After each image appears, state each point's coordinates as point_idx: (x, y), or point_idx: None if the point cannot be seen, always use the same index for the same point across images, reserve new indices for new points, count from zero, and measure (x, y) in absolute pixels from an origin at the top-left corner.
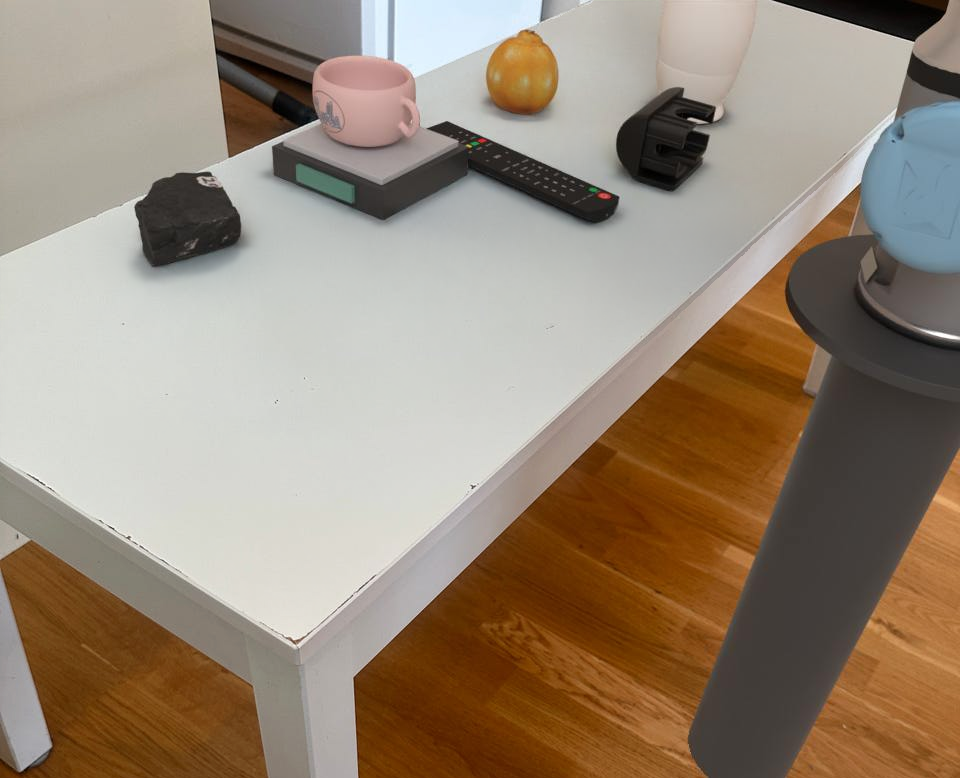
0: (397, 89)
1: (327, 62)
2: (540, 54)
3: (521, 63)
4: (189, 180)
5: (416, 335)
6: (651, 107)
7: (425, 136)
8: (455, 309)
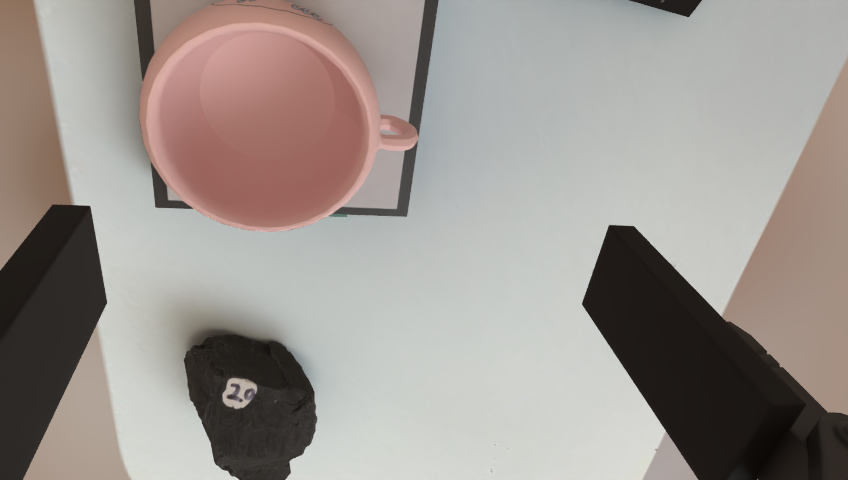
0: (371, 156)
1: (155, 139)
2: None
3: None
4: (230, 419)
5: (553, 354)
6: None
7: (362, 7)
8: (571, 300)
